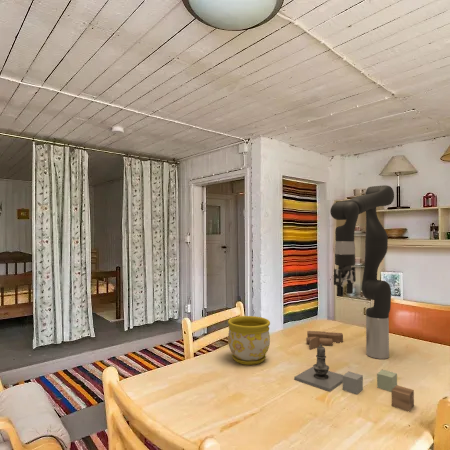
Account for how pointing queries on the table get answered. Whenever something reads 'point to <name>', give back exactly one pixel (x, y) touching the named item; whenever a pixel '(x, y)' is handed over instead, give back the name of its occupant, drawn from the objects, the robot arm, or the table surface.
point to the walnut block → (402, 398)
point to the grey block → (352, 382)
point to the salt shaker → (321, 364)
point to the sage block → (386, 380)
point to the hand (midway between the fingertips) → (345, 294)
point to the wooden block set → (322, 338)
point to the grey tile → (324, 384)
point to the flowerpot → (248, 339)
